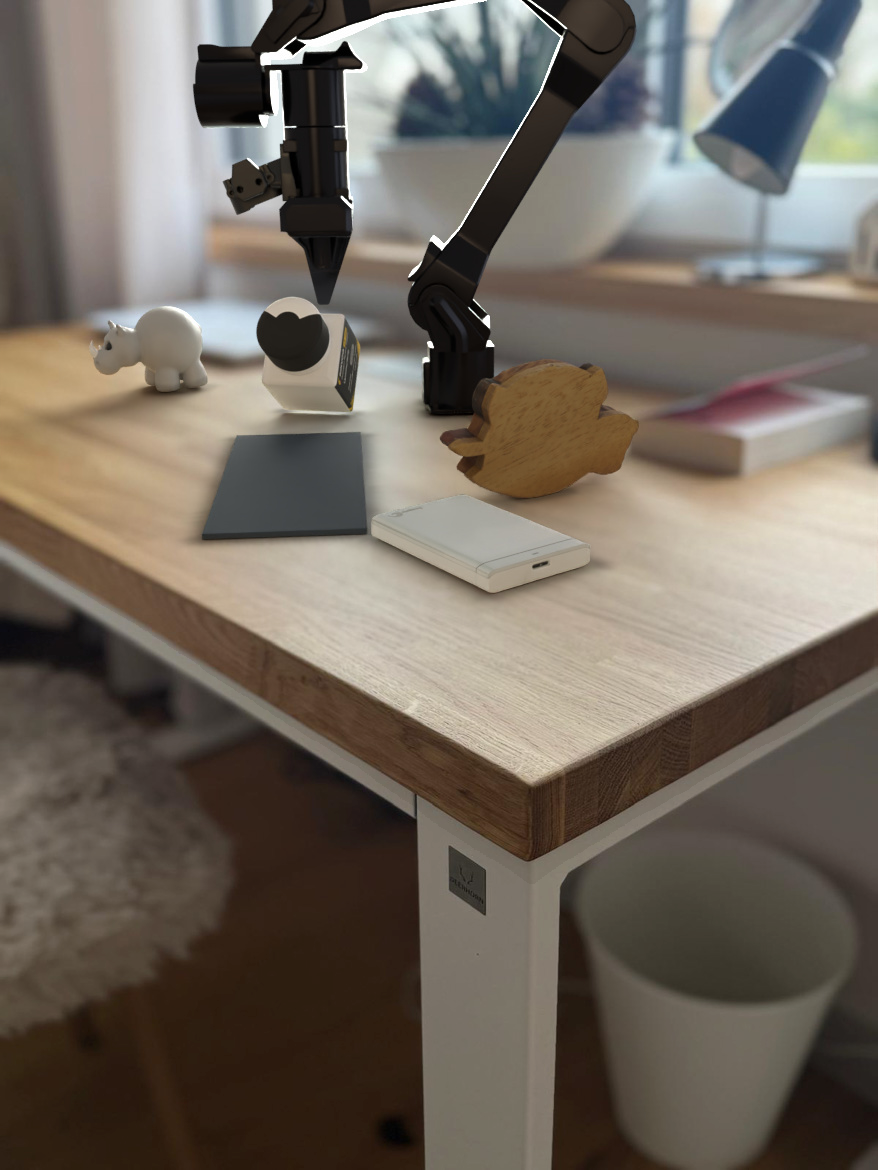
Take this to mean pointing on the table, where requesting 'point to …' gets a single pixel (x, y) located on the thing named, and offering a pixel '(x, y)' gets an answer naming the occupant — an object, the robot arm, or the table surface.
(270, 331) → the medicine bottle
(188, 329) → the chubby cartoon animal
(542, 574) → the hard drive
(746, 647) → the table surface
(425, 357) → the robot arm
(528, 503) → the table surface
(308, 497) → the slate mat
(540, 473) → the wooden carving
